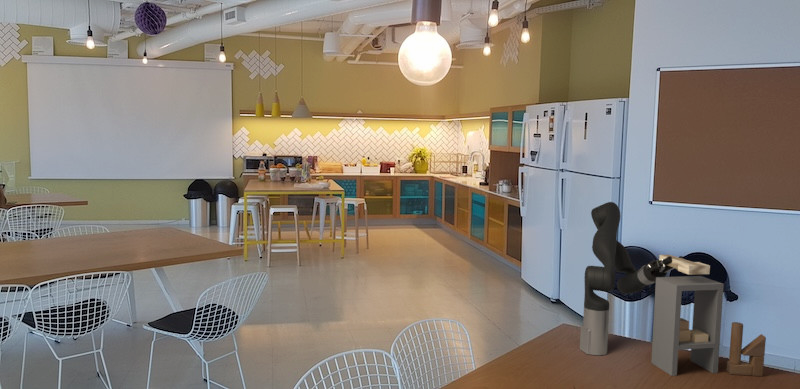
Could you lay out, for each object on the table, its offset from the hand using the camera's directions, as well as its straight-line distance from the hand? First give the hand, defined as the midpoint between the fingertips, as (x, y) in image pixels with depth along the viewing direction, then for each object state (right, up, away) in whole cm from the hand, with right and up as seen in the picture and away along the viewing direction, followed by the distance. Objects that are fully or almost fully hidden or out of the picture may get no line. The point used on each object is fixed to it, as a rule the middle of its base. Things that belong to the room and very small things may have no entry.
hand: (676, 258), depth 219 cm
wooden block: (+20, -40, -8) cm, 45 cm away
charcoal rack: (+1, -39, -4) cm, 39 cm away
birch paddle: (0, -3, -2) cm, 4 cm away
